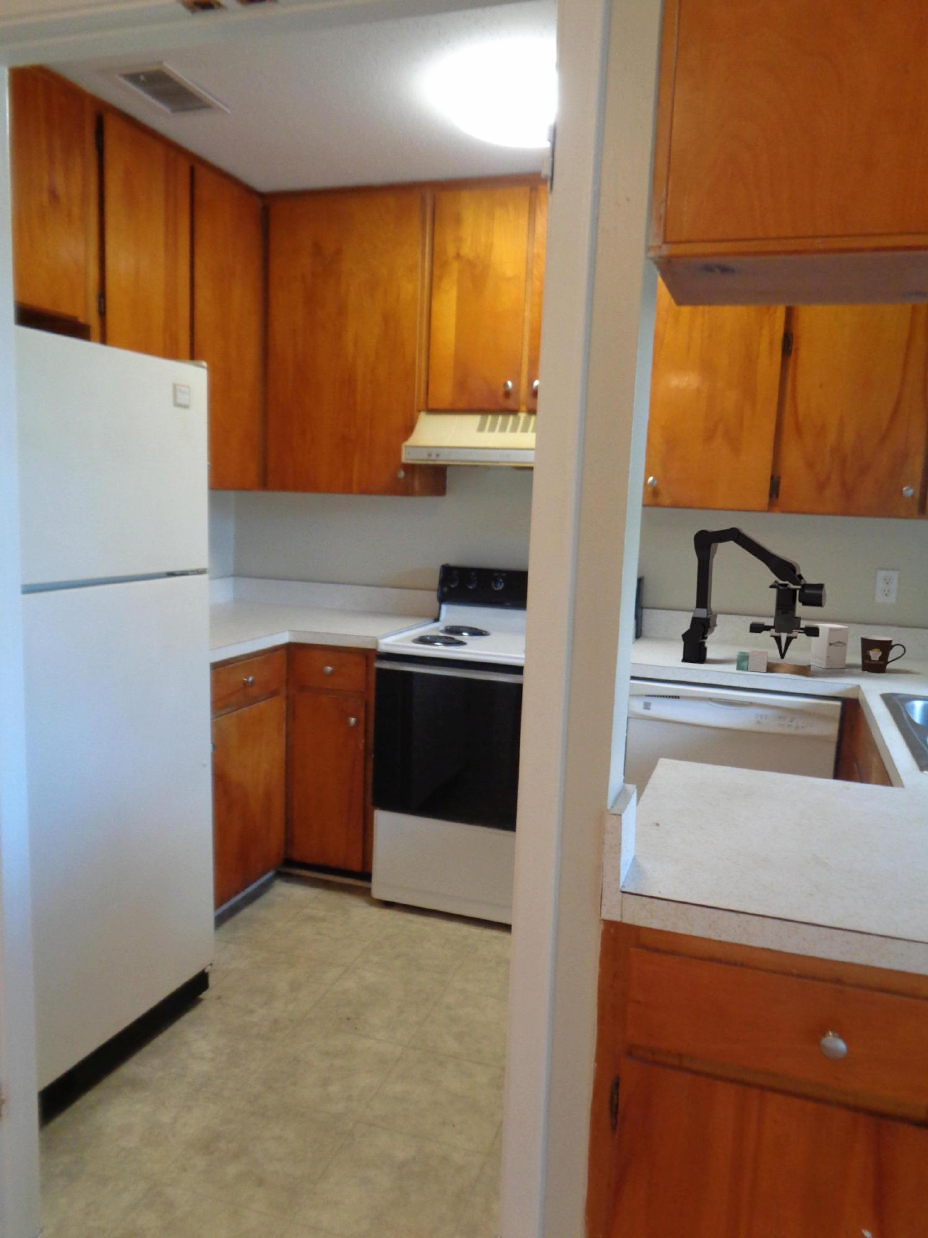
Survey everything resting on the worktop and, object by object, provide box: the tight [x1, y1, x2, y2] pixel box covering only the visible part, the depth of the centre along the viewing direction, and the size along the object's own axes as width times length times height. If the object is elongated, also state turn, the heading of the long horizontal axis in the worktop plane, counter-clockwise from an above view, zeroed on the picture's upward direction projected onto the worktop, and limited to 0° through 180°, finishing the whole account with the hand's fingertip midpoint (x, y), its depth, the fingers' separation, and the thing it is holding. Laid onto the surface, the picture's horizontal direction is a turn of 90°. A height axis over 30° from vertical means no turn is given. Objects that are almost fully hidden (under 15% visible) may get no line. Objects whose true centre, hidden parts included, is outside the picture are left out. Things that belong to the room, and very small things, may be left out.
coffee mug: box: [860, 635, 907, 674], centre depth 263 cm, size 12×9×10 cm
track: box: [735, 650, 812, 677], centre depth 258 cm, size 20×7×4 cm, turn 69°
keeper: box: [747, 649, 769, 673], centre depth 259 cm, size 5×7×5 cm
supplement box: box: [809, 623, 850, 669], centre depth 270 cm, size 7×7×13 cm
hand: (782, 659), depth 257 cm, fingers closed
